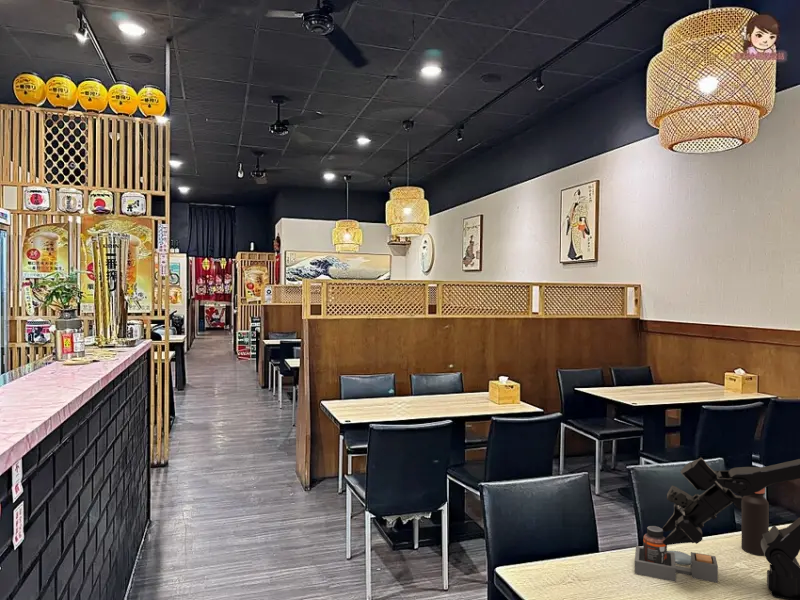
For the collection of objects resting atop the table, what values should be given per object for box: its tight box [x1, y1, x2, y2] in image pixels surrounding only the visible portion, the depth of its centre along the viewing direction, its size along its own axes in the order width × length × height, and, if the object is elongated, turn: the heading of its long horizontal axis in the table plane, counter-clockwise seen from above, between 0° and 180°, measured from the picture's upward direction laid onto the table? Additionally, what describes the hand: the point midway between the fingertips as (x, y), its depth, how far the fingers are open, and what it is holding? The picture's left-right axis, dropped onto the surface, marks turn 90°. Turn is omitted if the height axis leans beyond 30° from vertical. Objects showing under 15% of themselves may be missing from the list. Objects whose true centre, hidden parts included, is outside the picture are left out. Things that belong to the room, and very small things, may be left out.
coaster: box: [667, 550, 691, 566], centre depth 159 cm, size 8×8×1 cm
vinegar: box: [740, 487, 770, 557], centre depth 164 cm, size 7×7×20 cm
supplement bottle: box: [642, 525, 668, 565], centre depth 153 cm, size 6×6×11 cm
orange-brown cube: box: [695, 552, 712, 563], centre depth 149 cm, size 4×4×4 cm
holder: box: [634, 545, 719, 584], centre depth 150 cm, size 20×10×4 cm, turn 65°
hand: (663, 536), depth 152 cm, fingers open, 9 cm apart
